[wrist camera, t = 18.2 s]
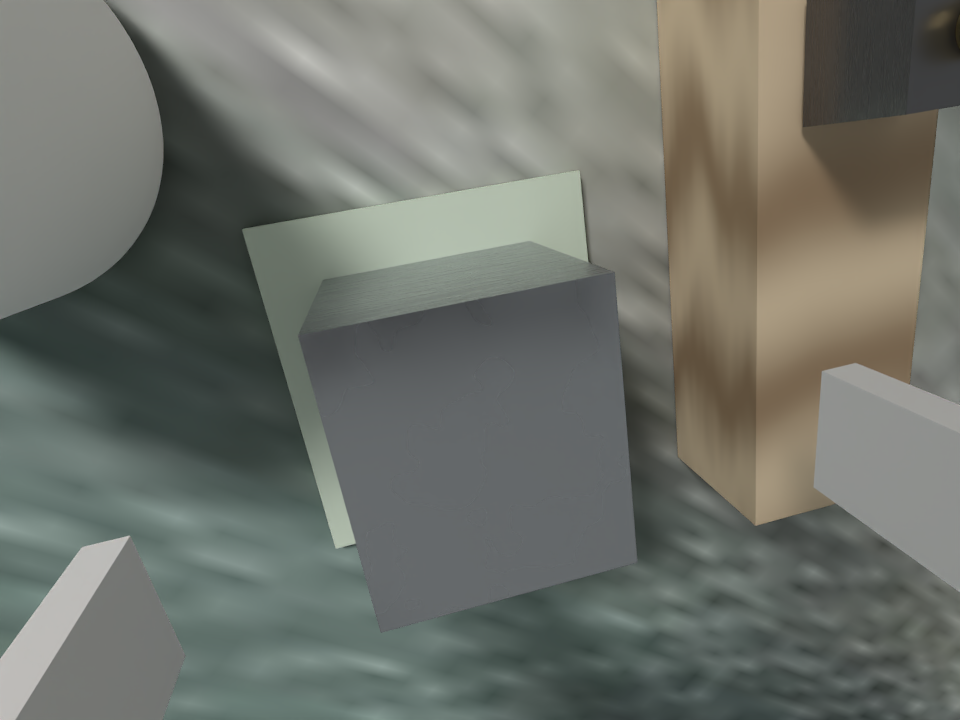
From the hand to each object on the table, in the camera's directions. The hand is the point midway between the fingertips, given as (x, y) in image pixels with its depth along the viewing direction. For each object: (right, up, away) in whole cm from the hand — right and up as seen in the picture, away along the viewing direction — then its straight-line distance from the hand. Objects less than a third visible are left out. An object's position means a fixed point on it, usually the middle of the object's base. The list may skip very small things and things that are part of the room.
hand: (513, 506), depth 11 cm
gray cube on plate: (-2, +2, +9) cm, 10 cm away
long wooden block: (+9, +10, +10) cm, 16 cm away
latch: (+9, +11, +4) cm, 14 cm away
